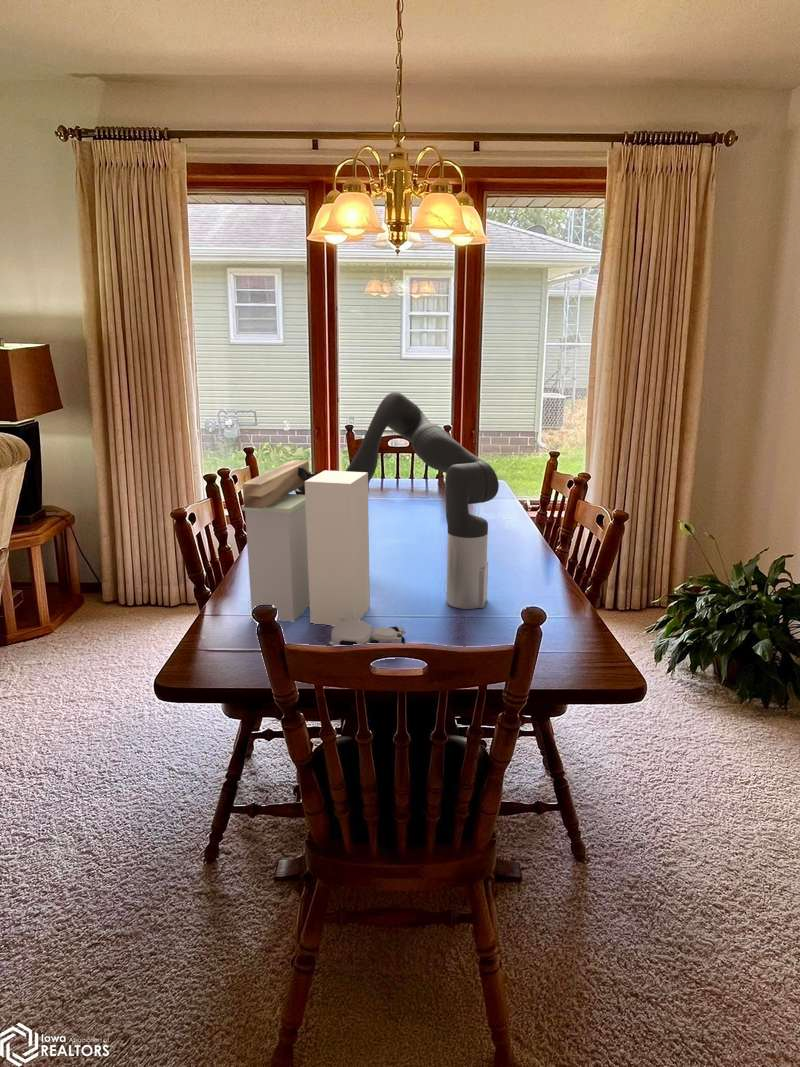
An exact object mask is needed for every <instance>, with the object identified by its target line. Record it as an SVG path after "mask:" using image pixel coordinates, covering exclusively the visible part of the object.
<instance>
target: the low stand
mask: <svg viewBox="0 0 800 1067" xmlns="http://www.w3.org/2000/svg"><path fill="white" fill-rule="evenodd" d="M241 511H244V514H245V515H244V516H245V529H246V530H245V532H246V533H245V534H246V545H247V546H246V547H247V548H246V549H247V559H248V562H247V563H248V577H249V587H250V588H249V590H250V608H251V611H252V610H253V608H254V607H255V606H258V605H261V604H271V605H274V606H275V607H276V608H277V610H278V618H277V620H276V621H278V622H279V619H280V622H282V621H281V620H284V621H283V622H287V621H294V622H296V620H298V618H300V617H301V616H302V614H303V613H304V612H305V611H306V610H307V609H308V608H309V607H310V606H309V605H310V600H309V576H308V551H307V527H306V503H305V495H299V494H296V493H289V494H287V495H285V496H283V497H282V498H280V499H278V500H276V501H275V502H273V503H271V504H269V505H267V506H266V507H264V508H262V509H261V508H246V507H244V504H243V505H241ZM308 606H309V607H308ZM307 607H308V608H307ZM306 608H307V609H306ZM305 609H306V610H305ZM304 610H305V611H304ZM303 611H304V612H303ZM302 612H303V613H302ZM301 613H302V614H301ZM297 617H298V618H297ZM295 619H296V620H295Z"/></svg>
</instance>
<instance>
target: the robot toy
mask: <svg viewBox="0 0 800 1067" xmlns="http://www.w3.org/2000/svg"><path fill="white" fill-rule="evenodd" d="M339 619H340V620H343V621H341V622H339V623H338V624H337V625H335V626H333V628H332V629H331V634H330V635H331V636H330V638H331V640H330V641H328V643H329V644H330V645H331V646H332V645H353V644H367V643H404V644H405V643H406V638H405V636H403V635H404V634H406V632H407V631H406V630H405V628H403V627H398V626H388V627H385V626H384V627H383V626H382V627H379V626H378V627H377V626H376V627H375V628H374V629H373V628H372V626H371V625H370V624H369V623H368V622H366V621H364V620H360V621H357V620H345V619H343V618H339Z"/></svg>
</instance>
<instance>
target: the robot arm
mask: <svg viewBox="0 0 800 1067" xmlns="http://www.w3.org/2000/svg"><path fill="white" fill-rule="evenodd" d="M387 427H388V428H389V429H391V430H392V431H393V432H395V433H397V434H398V435H400V436H402V437H403V438H405V439H406V440H408V441H409V442H410V443H411V447H412V449H413V451H414V452H415V454H416V455H417V457H418V458H420V460H421V461H422V462H423V463H424V464H426V465H427V466H428V467H430V468H431V469H434V470H437V471H439V472H442V473H445V478H444V480H445V482H444V489H445V490H444V491H445V492H444V494H445V518H446V523H447V524H446V525H447V547H446V548H447V552H446V553H447V554H446V592H445V594H446V600H445V601H446V604H447V605H449V606H451V607H453V608H456V609H459V610H460V609H461V610H474V609H484V608H485V605H486V603H487V600H488V577H489V562H488V539H489V538H488V536H489V534H488V533H489V522H488V521H487V519H485V518H483V517H481V516H477V515H473V514H470V511H469V505H475V504H482V503H486V502H490V501H491V500H493V499H494V498H496V496H497V494H498V493H499V487H500V486H499V484H500V482H499V478H498V475H497V473H496V471H495V470H494V469H493V467H492V466H491V465H490V464H489V463H487V462H486V461H485V460H483V459H481V458H480V457H479V456H477V455H475V454H474V453H472V452H471V451H469V450H467V448H465V447H464V446H463V445H461V443H459V442H458V441H457V440H455V439H454V438H453V436H452V435H451V434H449V432H447V431H446V430H445V429H444V428H443V427H441V426H439V425H438V424H436V423H432V422H431V421H430V420H429V419H428V418H427V416H426V415H425V413H423V411H422V410H421V408H420V407H419V406H418V405H417V404H415V403H414V402H413V401H411V400H410V399H409V398H408V397H407V396H405V395H404V394H403V393H401V392H399V391H391V392H390V393H388V394H387V395H386V396H384V398H383V399H382V401H381V402H380V403H379V405H378V407H377V408H376V411H375V413H374V415H373V417H372V420H371V422H370V423H369V426H368V428H367V431H366V432H365V434H364V437H363V439H362V441H361V444H360V446H359V447H358V450H357V451H356V454H355V455H354V457H353V458H352V460H351V462H350V463H349V464H348V466H347V468H346V469H345V471H348V472H368V484H369V483H370V481H371V480H372V479H373V476H374V475H375V472H376V470H377V467H378V461H379V460H378V458H379V449H380V443H381V439H382V437H383V434H384V432H385V430H386V428H387ZM317 474H319V472H311V471H310V470H309V471H306V470H305V469H304V468H303V467H299V468H298V476H299V477H300V478H301V479H302V480H305V481H306V480H308V479H310V478H312V477H314V476H315V475H317ZM294 494H299V495H305V484H304V485H303V486H301V487H299V488H297V489H296V490H294Z"/></svg>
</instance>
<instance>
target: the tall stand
mask: <svg viewBox="0 0 800 1067" xmlns="http://www.w3.org/2000/svg"><path fill="white" fill-rule="evenodd" d="M318 473H319V472H318ZM305 503H306V527H307V551H308V576H309V600H310V606H309V615H310V616H309V622H310V623H315V624H325V625H326V624H328V625H337V624H338V623H339V622H341V621H343V620H340V619H339V618H343V619H345V620H357V621H359V620H360V619H361V618H362V619H363V618H364V617H365V615H366V614H367V612H369V610H370V609H371V601H370V598H371V597H370V595H371V594H370V592H371V591H370V582H371V581H370V539H369V538H370V536H369V535H370V532H369V530H370V529H369V528H370V527H369V523H370V522H369V483H368V472H348V471H346V470H345V471H344V470H326V469H325V470H322V471H321V472H320V473H319V474H317V475H315V476H314V477H312V478H310V479H308V480H306V481H305ZM369 608H370V609H369ZM368 609H369V610H368ZM365 613H366V614H365ZM364 614H365V615H364ZM362 619H361V620H362ZM361 620H360V621H361ZM315 624H314V625H315ZM325 625H324V626H325Z"/></svg>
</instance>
